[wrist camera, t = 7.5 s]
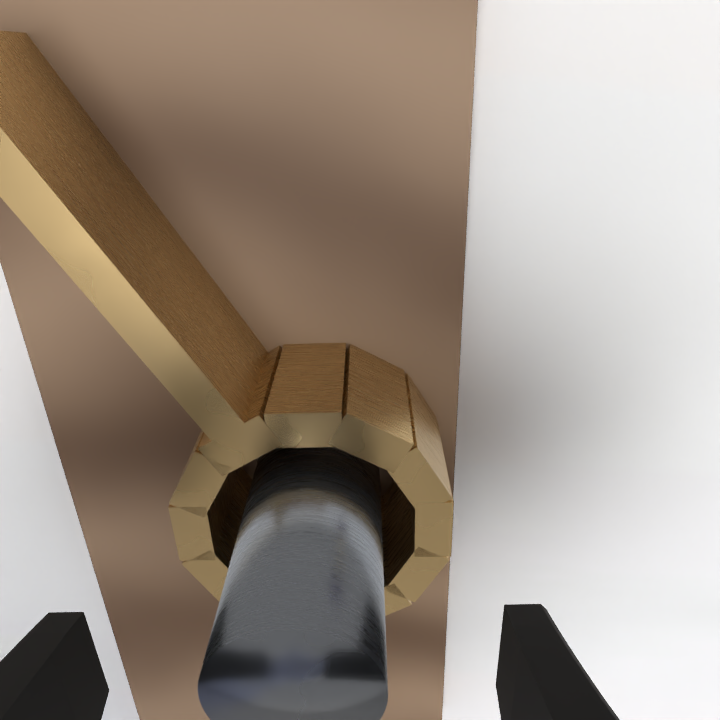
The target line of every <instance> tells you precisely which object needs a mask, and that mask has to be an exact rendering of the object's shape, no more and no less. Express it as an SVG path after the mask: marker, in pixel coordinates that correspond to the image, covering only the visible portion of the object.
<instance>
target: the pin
mask: <svg viewBox="0 0 720 720" xmlns="http://www.w3.org/2000/svg"><path fill="white" fill-rule="evenodd" d="M197 690H198V697H199V700H200V703H201V706H202V708H203V710H204V711H205V713H206V715H207V716H208V717H209V718H210V720H380V719H381V718H382V716H383V714H384V712H385V710H386V706H387V703H388V677H387V651H386V624H385V597H384V570H383V543H382V516H381V489H380V467H379V466H376V465H374V464H372V463H370V462H367V461H365V460H363V459H361V458H358V457H356V456H354V455H352V454H350V453H347V452H345V451H343V450H341V449H338V448H336V447H312V448H275V449H273V450H272V451H270V452H268V453H266V454H264V455H262V456H260V457H258V460H257V464H256V468H255V472H254V475H253V479H252V483H251V486H250V490H249V494H248V498H247V501H246V505H245V509H244V512H243V516H242V520H241V524H240V527H239V531H238V535H237V538H236V542H235V546H234V550H233V553H232V557H231V561H230V564H229V568H228V572H227V576H226V579H225V583H224V587H223V590H222V594H221V598H220V602H219V605H218V609H217V613H216V616H215V620H214V624H213V628H212V631H211V635H210V639H209V642H208V646H207V650H206V654H205V657H204V661H203V665H202V668H201V672H200V676H199V680H198V689H197Z"/></svg>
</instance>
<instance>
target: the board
mask: <svg viewBox="0 0 720 720" xmlns="http://www.w3.org/2000/svg"><path fill="white" fill-rule="evenodd" d="M477 7H478V0H0V31H11V32H23V33H27V35H28V36H29V37H30V39H31V40H32V41H33V43H34V44H35V45H36V47H37V48H38V49H39V50H40V52H41V53H42V54H43V56H44V57H45V58H46V60H47V61H48V62H49V64H50V65H51V66H52V68H53V69H54V70H55V72H56V73H57V74H58V76H59V77H60V78H61V80H62V81H63V82H64V83H65V85H66V86H67V87H68V89H69V90H70V91H71V93H72V94H73V95H74V97H75V98H76V99H77V101H78V102H79V103H80V105H81V106H82V107H83V109H84V110H85V111H86V113H87V114H88V115H89V116H90V118H91V119H92V120H93V122H94V123H95V124H96V126H97V127H98V128H99V130H100V131H101V132H102V134H103V135H104V136H105V138H106V139H107V140H108V142H109V143H110V144H111V146H112V147H113V148H114V149H115V151H116V152H117V153H118V155H119V156H120V157H121V159H122V160H123V161H124V163H125V164H126V165H127V167H128V168H129V169H130V171H131V172H132V173H133V175H134V176H135V177H136V179H137V180H138V181H139V182H140V184H141V185H142V186H143V188H144V189H145V190H146V192H147V193H148V194H149V196H150V197H151V198H152V200H153V201H154V202H155V204H156V205H157V206H158V208H159V209H160V210H161V212H162V213H163V214H164V215H165V217H166V218H167V219H168V221H169V222H170V223H171V225H172V226H173V227H174V229H175V230H176V231H177V233H178V234H179V235H180V237H181V238H182V239H183V241H184V242H185V243H186V245H187V246H188V247H189V248H190V250H191V251H192V252H193V254H194V255H195V256H196V258H197V259H198V260H199V262H200V263H201V264H202V266H203V267H204V268H205V270H206V271H207V272H208V274H209V275H210V276H211V278H212V279H213V280H214V281H215V283H216V284H217V285H218V287H219V288H220V289H221V291H222V292H223V293H224V295H225V296H226V297H227V299H228V300H229V301H230V303H231V304H232V305H233V307H234V308H235V309H236V311H237V312H238V313H239V314H240V316H241V317H242V318H243V320H244V321H245V322H246V324H247V325H248V326H249V328H250V329H251V330H252V332H253V333H254V334H255V336H256V337H257V338H258V340H259V341H260V342H261V344H262V345H263V346H264V348H265V349H266V350H267V351H268V352H269V351H271V350H272V349H274V348H276V347H278V346H279V345H280V346H281V348H282V349H283V345H284V344H312V343H346V350H347V348H348V347H349V345H350V344H352V345H354V346H356V347H358V348H360V349H362V350H364V351H366V352H368V353H370V354H372V355H375V356H377V357H379V358H381V359H383V360H385V361H387V362H389V363H391V364H393V365H395V366H397V367H399V368H401V369H403V370H404V372H405V374H406V373H408V375H409V376H410V378H411V379H412V381H413V382H414V384H415V385H416V387H417V388H418V390H419V391H420V393H421V394H422V396H423V397H424V399H425V401H426V402H427V404H428V405H429V407H430V408H431V410H432V411H433V413H434V414H435V416H436V418H437V422H438V427H439V432H440V437H441V442H442V446H443V451H444V456H445V461H446V466H447V471H448V476H449V481H450V486H451V491H452V496H453V486H454V466H455V446H456V426H457V406H458V386H459V367H460V347H461V327H462V307H463V287H464V267H465V247H466V227H467V207H468V187H469V167H470V147H471V127H472V107H473V87H474V67H475V47H476V27H477ZM0 262H1V265H2V269H3V272H4V275H5V279H6V282H7V285H8V288H9V292H10V295H11V298H12V302H13V305H14V308H15V311H16V315H17V318H18V321H19V325H20V328H21V331H22V334H23V338H24V341H25V344H26V347H27V351H28V354H29V357H30V361H31V364H32V367H33V370H34V374H35V377H36V380H37V384H38V387H39V390H40V393H41V397H42V400H43V403H44V407H45V410H46V413H47V416H48V420H49V423H50V426H51V430H52V433H53V436H54V439H55V443H56V446H57V449H58V452H59V456H60V459H61V462H62V466H63V469H64V472H65V475H66V479H67V482H68V485H69V489H70V492H71V495H72V498H73V502H74V505H75V508H76V512H77V515H78V518H79V521H80V525H81V528H82V531H83V534H84V538H85V541H86V544H87V548H88V551H89V554H90V557H91V561H92V564H93V567H94V571H95V574H96V577H97V580H98V584H99V587H100V590H101V594H102V597H103V600H104V603H105V607H106V610H107V613H108V617H109V620H110V623H111V626H112V630H113V633H114V636H115V639H116V643H117V646H118V649H119V653H120V656H121V659H122V662H123V666H124V669H125V672H126V676H127V679H128V682H129V685H130V689H131V692H132V695H133V699H134V702H135V705H136V708H137V712H138V715H139V718H140V720H210V718H209V717H208V716H207V715H206V713H205V711H204V710H203V708H202V706H201V703H200V700H199V697H198V690H197V689H198V680H199V676H200V672H201V668H202V665H203V661H204V657H205V654H206V650H207V646H208V642H209V639H210V635H211V631H212V628H213V624H214V620H215V616H216V613H217V609H218V605H219V601H218V600H217V599H216V598H215V597H214V596H213V595H212V594H211V593H210V592H209V591H208V590H207V589H206V588H205V587H204V586H203V585H202V584H201V583H200V582H199V581H198V580H197V579H196V578H195V577H194V576H193V575H192V574H191V573H190V572H189V571H188V570H187V569H186V568H185V567H184V566H183V565H182V562H183V561H180V560H179V555H178V551H177V546H176V541H175V537H174V532H173V528H172V523H171V518H170V514H169V509H168V507H169V505H170V504H169V502H170V499H171V497H172V495H173V493H174V490H175V488H176V486H177V484H178V481H179V479H180V477H181V475H182V472H183V470H184V468H185V466H186V463H187V461H188V459H189V457H190V454H191V452H192V450H193V448H194V445H195V443H196V441H197V439H198V436H199V434H200V432H201V430H202V429H201V428H200V427H199V426H198V425H197V424H196V422H195V421H194V420H193V419H192V418H191V417H190V415H189V414H188V413H187V412H186V411H185V410H184V409H183V407H182V406H181V405H180V404H179V403H178V402H177V400H176V399H175V398H174V397H173V396H172V395H171V393H170V392H169V391H168V390H167V389H166V388H165V387H164V385H163V384H162V383H161V382H160V381H159V380H158V378H157V377H156V376H155V375H154V374H153V373H152V372H151V370H150V369H149V368H148V367H147V366H146V365H145V363H144V362H143V361H142V360H141V359H140V358H139V357H138V355H137V354H136V353H135V352H134V351H133V350H132V348H131V347H130V346H129V345H128V344H127V343H126V342H125V340H124V339H123V338H122V337H121V336H120V335H119V333H118V332H117V331H116V330H115V329H114V328H113V327H112V325H111V324H110V323H109V322H108V321H107V320H106V318H105V317H104V316H103V315H102V314H101V313H100V311H99V310H98V309H97V308H96V307H95V306H94V305H93V303H92V302H91V301H90V300H89V299H88V298H87V296H86V295H85V294H84V293H83V292H82V291H81V290H80V288H79V287H78V286H77V285H76V284H75V283H74V281H73V280H72V279H71V278H70V277H69V276H68V275H67V273H66V272H65V271H64V270H63V269H62V268H61V266H60V265H59V264H58V263H57V262H56V261H55V260H54V258H53V257H52V256H51V255H50V254H49V253H48V251H47V250H46V249H45V248H44V247H43V246H42V244H41V243H40V242H39V241H38V240H37V239H36V238H35V236H34V235H33V234H32V233H31V232H30V231H29V229H28V228H27V227H26V226H25V225H24V224H23V223H22V221H21V220H20V219H19V218H18V217H17V216H16V214H15V213H14V212H13V211H12V210H11V209H10V208H9V206H8V205H7V204H6V203H5V202H4V201H3V199H2V198H1V197H0ZM257 460H258V458H256V459H255V460H253V461H251V462H249V463H247V464H245V465H243V466H241V467H242V468H243V469H244V471H245V472H246V473H247V474H248V475H249V476H250V478H251V479H253V475H254V472H255V468H256V464H257ZM393 481H394V479H393V478H392V477H391V475H390V474H389V473H388V471H387V470H385V469H383V468H381V467H380V489H381V496H382V495H384V494H385V493H386V491H387V490H388V488H389V487H390V485H391V484H392V483H393ZM449 559H450V556H449ZM449 566H450V560H449V561H448V562H447V564H446V565H445V566H444V567H443V569H442V570H441V571H440V572H439V573H438V575H437V576H436V577H435V578H434V580H433V581H432V582H431V583H430V584H429V586H428V587H427V588H426V589H425V591H424V592H423V593H422V594H421V596H420V597H419V598H418V599H417V600H416V602H412V601H411V603H412V605H410V606H408V607H405V608H403V609H401V610H398V611H396V612H393V613H391V614H389V615H386V616H385V624H386V651H387V677H388V703H387V706H386V710H385V712H384V714H383V716H382V718H381V719H380V720H442V706H443V686H444V666H445V646H446V626H447V606H448V586H449Z"/></svg>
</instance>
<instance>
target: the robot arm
mask: <svg viewBox="0 0 720 720" xmlns="http://www.w3.org/2000/svg"><path fill="white" fill-rule="evenodd" d="M496 689H497V695H498V702H499V708H500V714H501V720H619V718H618V717H617V716H616V714H615V713H614V712H613V710H612V709H611V707H610V706H609V705H608V703H607V702H606V700H605V699H604V698H603V696H602V695H601V693H600V692H599V690H598V689H597V688H596V686H595V685H594V683H593V682H592V680H591V679H590V677H589V676H588V674H587V673H586V671H585V670H584V668H583V667H582V665H581V664H580V662H579V661H578V659H577V658H576V656H575V655H574V653H573V652H572V650H571V649H570V647H569V646H568V644H567V642H566V641H565V639H564V638H563V636H562V634H561V633H560V631H559V630H558V628H557V626H556V625H555V623H554V621H553V620H552V618H551V616H550V615H549V613H548V611H547V610H546V608H544V607H543V606H542V605H541V604H519V605H504V613H503V622H502V632H501V641H500V650H499V660H498V669H497V678H496ZM108 693H109V688H108V685H107V682H106V679H105V676H104V673H103V670H102V667H101V664H100V661H99V658H98V655H97V652H96V649H95V646H94V642H93V639H92V636H91V633H90V630H89V627H88V624H87V621H86V618H85V615H84V612H57V613H48V614H47V615H46V616H45V617H44V618H43V619H42V620H41V621H40V622H39V623H38V624H37V625H36V626H35V627H34V628H33V629H32V630H31V631H30V632H29V633H28V634H27V635H26V636H25V637H24V638H23V639H22V640H21V641H20V642H19V643H18V644H17V645H16V646H15V647H14V648H13V649H12V650H11V651H10V652H9V653H8V654H7V655H6V656H5V657H4V658H3V659H2V660H1V662H0V720H101V718H102V714H103V711H104V707H105V704H106V700H107V696H108Z"/></svg>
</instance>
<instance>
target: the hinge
mask: <svg viewBox="0 0 720 720" xmlns="http://www.w3.org/2000/svg"><path fill="white" fill-rule="evenodd" d="M0 197H1V198H2V199H3V201H4V202H5V203H6V204H7V205H8V206H9V208H10V209H11V210H12V211H13V212H14V213H15V214H16V216H17V217H18V218H19V219H20V220H21V221H22V223H23V224H24V225H25V226H26V227H27V228H28V229H29V231H30V232H31V233H32V234H33V235H34V236H35V238H36V239H37V240H38V241H39V242H40V243H41V244H42V246H43V247H44V248H45V249H46V250H47V251H48V253H49V254H50V255H51V256H52V257H53V258H54V260H55V261H56V262H57V263H58V264H59V265H60V266H61V268H62V269H63V270H64V271H65V272H66V273H67V275H68V276H69V277H70V278H71V279H72V280H73V281H74V283H75V284H76V285H77V286H78V287H79V288H80V290H81V291H82V292H83V293H84V294H85V295H86V296H87V298H88V299H89V300H90V301H91V302H92V303H93V305H94V306H95V307H96V308H97V309H98V310H99V311H100V313H101V314H102V315H103V316H104V317H105V318H106V320H107V321H108V322H109V323H110V324H111V325H112V327H113V328H114V329H115V330H116V331H117V332H118V333H119V335H120V336H121V337H122V338H123V339H124V340H125V342H126V343H127V344H128V345H129V346H130V347H131V348H132V350H133V351H134V352H135V353H136V354H137V355H138V357H139V358H140V359H141V360H142V361H143V362H144V363H145V365H146V366H147V367H148V368H149V369H150V370H151V372H152V373H153V374H154V375H155V376H156V377H157V378H158V380H159V381H160V382H161V383H162V384H163V385H164V387H165V388H166V389H167V390H168V391H169V392H170V393H171V395H172V396H173V397H174V398H175V399H176V400H177V402H178V403H179V404H180V405H181V406H182V407H183V409H184V410H185V411H186V412H187V413H188V414H189V415H190V417H191V418H192V419H193V420H194V421H195V422H196V424H197V425H198V426H199V427H200V428H201V429H202V430H201V432H200V434H199V436H198V439H197V441H196V443H195V445H194V448H193V450H192V452H191V454H190V457H189V459H188V461H187V463H186V466H185V468H184V470H183V472H182V475H181V477H180V479H179V481H178V484H177V486H176V488H175V490H174V493H173V495H172V497H171V499H170V502H169V504H170V505H169V507H168V509H169V514H170V518H171V523H172V528H173V532H174V537H175V541H176V546H177V551H178V555H179V560H180V561H183V562H182V565H183V566H184V567H185V568H186V569H187V570H188V571H189V572H190V573H191V574H192V575H193V576H194V577H195V578H196V579H197V580H198V581H199V582H200V583H201V584H202V585H203V586H204V587H205V588H206V589H207V590H208V591H209V592H210V593H211V594H212V595H213V596H214V597H215V598H216V599H217V600H218V601H219V602H220V598H221V594H222V590H223V587H224V583H225V579H226V576H227V572H228V568H229V564H230V561H231V557H232V553H233V550H234V546H235V542H236V538H237V535H238V531H239V527H240V524H241V520H242V516H243V512H244V509H245V505H246V501H247V498H248V494H249V490H250V486H251V483H252V479H251V478H250V476H249V475H248V474H247V473H246V472H245V471H244V469H243V468H242V467H241V466H243V465H245V464H247V463H249V462H251V461H253V460H255V459H256V458H258V457H260V456H262V455H264V454H266V453H268V452H270V451H272V450H273V449H275V448H312V447H336V448H338V449H341V450H343V451H345V452H347V453H350V454H352V455H354V456H356V457H358V458H361V459H363V460H365V461H367V462H370V463H372V464H374V465H376V466H379V467H381V468H383V469H385V470H387V471H388V473H389V474H390V475H391V477H392V478H393V479H394V481H393V483H392V484H391V485H390V487H389V488H388V490H387V491H386V493H385V494H384V495H382V496H381V516H382V543H383V570H384V597H385V616H386V615H389V614H391V613H393V612H396V611H398V610H401V609H403V608H405V607H408V606H410V605H412V603H411V601H412V602H416V600H417V599H418V598H419V597H420V596H421V594H422V593H423V592H424V591H425V589H426V588H427V587H428V586H429V584H430V583H431V582H432V581H433V580H434V578H435V577H436V576H437V575H438V573H439V572H440V571H441V570H442V569H443V567H444V566H445V565H446V564H447V562H448V561H449V560H450V559H449V556H451V546H452V527H453V507H454V501H453V496H452V491H451V486H450V481H449V476H448V471H447V466H446V461H445V456H444V451H443V446H442V442H441V437H440V432H439V427H438V422H437V418H436V416H435V414H434V413H433V411H432V410H431V408H430V407H429V405H428V404H427V402H426V401H425V399H424V397H423V396H422V394H421V393H420V391H419V390H418V388H417V387H416V385H415V384H414V382H413V381H412V379H411V378H410V376H409V375H408V373H406V374H405V372H404V370H403V369H401V368H399V367H397V366H395V365H393V364H391V363H389V362H387V361H385V360H383V359H381V358H379V357H377V356H375V355H372V354H370V353H368V352H366V351H364V350H362V349H360V348H358V347H356V346H354V345H352V344H350V345H349V347H348V348H347V350H346V343H312V344H284V345H283V349H282V348H281V346H280V345H279V346H278V347H276V348H274V349H272V350H271V351H269V352H268V351H267V350H266V349H265V348H264V346H263V345H262V344H261V342H260V341H259V340H258V338H257V337H256V336H255V334H254V333H253V332H252V330H251V329H250V328H249V326H248V325H247V324H246V322H245V321H244V320H243V318H242V317H241V316H240V314H239V313H238V312H237V311H236V309H235V308H234V307H233V305H232V304H231V303H230V301H229V300H228V299H227V297H226V296H225V295H224V293H223V292H222V291H221V289H220V288H219V287H218V285H217V284H216V283H215V281H214V280H213V279H212V278H211V276H210V275H209V274H208V272H207V271H206V270H205V268H204V267H203V266H202V264H201V263H200V262H199V260H198V259H197V258H196V256H195V255H194V254H193V252H192V251H191V250H190V248H189V247H188V246H187V245H186V243H185V242H184V241H183V239H182V238H181V237H180V235H179V234H178V233H177V231H176V230H175V229H174V227H173V226H172V225H171V223H170V222H169V221H168V219H167V218H166V217H165V215H164V214H163V213H162V212H161V210H160V209H159V208H158V206H157V205H156V204H155V202H154V201H153V200H152V198H151V197H150V196H149V194H148V193H147V192H146V190H145V189H144V188H143V186H142V185H141V184H140V182H139V181H138V180H137V179H136V177H135V176H134V175H133V173H132V172H131V171H130V169H129V168H128V167H127V165H126V164H125V163H124V161H123V160H122V159H121V157H120V156H119V155H118V153H117V152H116V151H115V149H114V148H113V147H112V146H111V144H110V143H109V142H108V140H107V139H106V138H105V136H104V135H103V134H102V132H101V131H100V130H99V128H98V127H97V126H96V124H95V123H94V122H93V120H92V119H91V118H90V116H89V115H88V114H87V113H86V111H85V110H84V109H83V107H82V106H81V105H80V103H79V102H78V101H77V99H76V98H75V97H74V95H73V94H72V93H71V91H70V90H69V89H68V87H67V86H66V85H65V83H64V82H63V81H62V80H61V78H60V77H59V76H58V74H57V73H56V72H55V70H54V69H53V68H52V66H51V65H50V64H49V62H48V61H47V60H46V58H45V57H44V56H43V54H42V53H41V52H40V50H39V49H38V48H37V47H36V45H35V44H34V43H33V41H32V40H31V39H30V37H29V36H28V35H27V33H23V32H11V31H0Z"/></svg>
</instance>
